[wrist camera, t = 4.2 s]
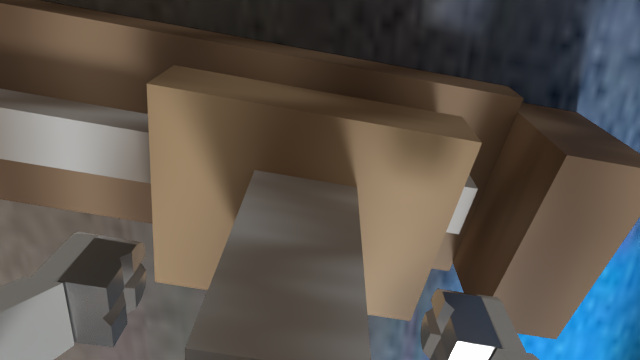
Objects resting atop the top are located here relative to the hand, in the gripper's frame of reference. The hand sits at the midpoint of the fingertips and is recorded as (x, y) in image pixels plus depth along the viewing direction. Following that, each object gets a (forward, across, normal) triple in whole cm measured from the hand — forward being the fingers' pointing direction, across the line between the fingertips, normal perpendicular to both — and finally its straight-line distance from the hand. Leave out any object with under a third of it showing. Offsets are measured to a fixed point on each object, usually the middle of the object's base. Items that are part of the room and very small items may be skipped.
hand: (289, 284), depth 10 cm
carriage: (+6, 0, 0) cm, 6 cm away
